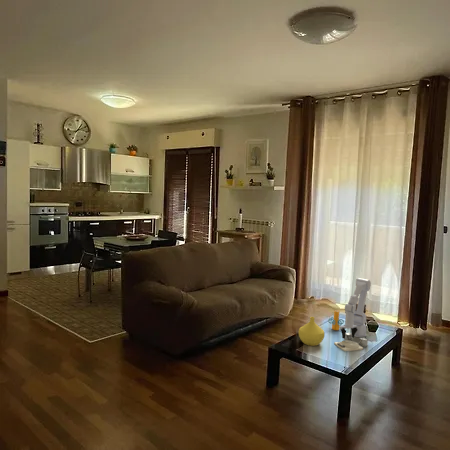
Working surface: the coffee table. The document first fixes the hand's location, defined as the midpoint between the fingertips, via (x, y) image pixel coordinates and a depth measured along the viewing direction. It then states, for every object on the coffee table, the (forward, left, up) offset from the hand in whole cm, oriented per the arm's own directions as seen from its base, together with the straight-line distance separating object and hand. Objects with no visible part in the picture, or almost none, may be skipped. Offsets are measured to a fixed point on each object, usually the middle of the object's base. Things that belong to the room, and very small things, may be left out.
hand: (348, 337), depth 288 cm
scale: (+6, +11, -2) cm, 13 cm away
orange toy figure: (-4, -23, -2) cm, 23 cm away
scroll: (-28, -27, -2) cm, 39 cm away
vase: (+31, 0, -2) cm, 31 cm away
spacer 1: (0, 0, -2) cm, 2 cm away
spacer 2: (-5, +11, -2) cm, 12 cm away
